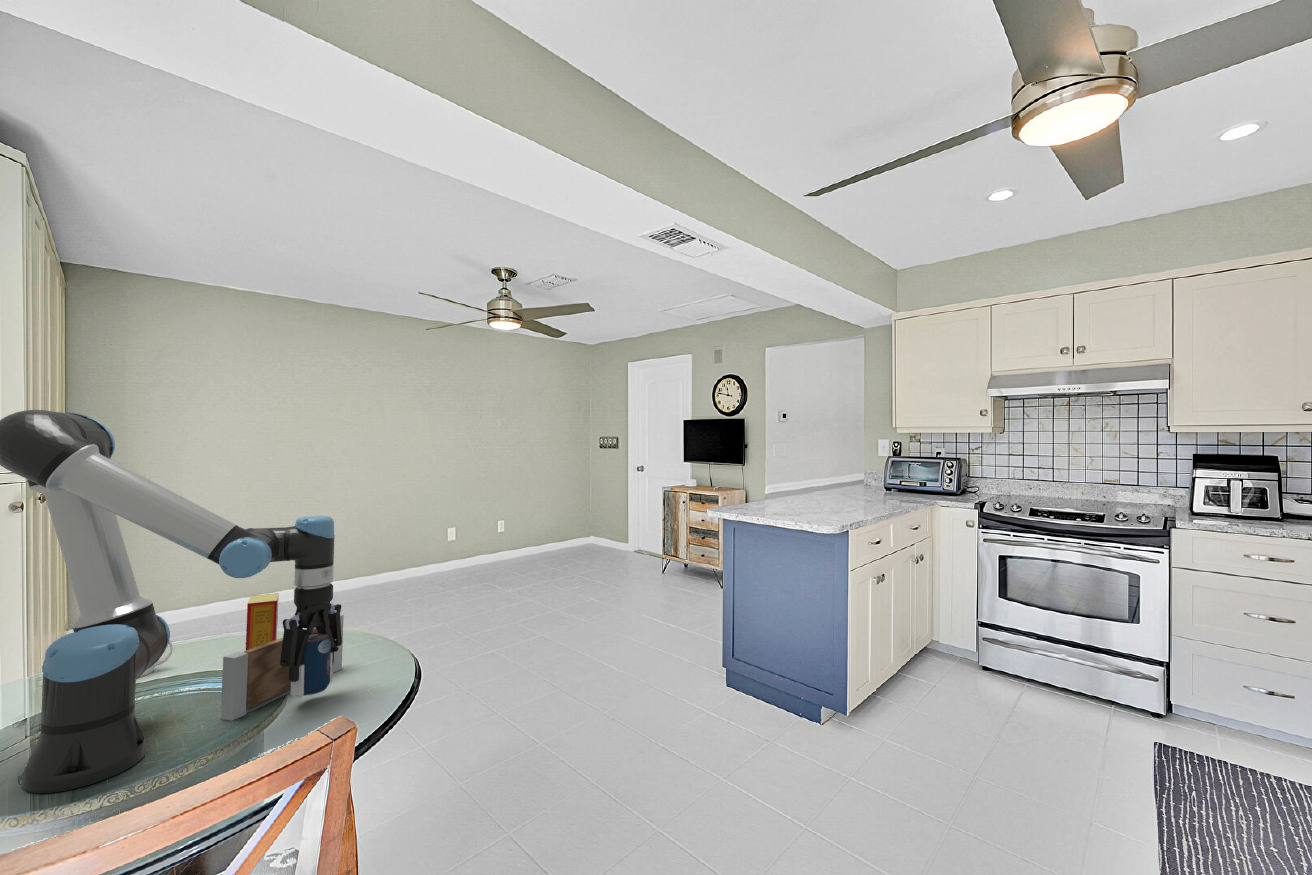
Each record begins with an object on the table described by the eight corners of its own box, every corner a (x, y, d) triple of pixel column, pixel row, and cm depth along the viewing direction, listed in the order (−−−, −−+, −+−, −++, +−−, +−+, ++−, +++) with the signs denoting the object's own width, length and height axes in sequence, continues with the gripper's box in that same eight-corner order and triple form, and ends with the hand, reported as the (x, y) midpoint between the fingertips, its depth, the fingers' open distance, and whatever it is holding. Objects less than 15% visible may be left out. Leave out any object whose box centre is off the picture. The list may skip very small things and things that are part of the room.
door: (247, 708, 119) (250, 652, 119) (236, 706, 120) (239, 650, 120) (328, 670, 140) (330, 623, 140) (318, 669, 140) (320, 622, 141)
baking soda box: (248, 651, 154) (250, 594, 154) (276, 647, 157) (278, 591, 158) (245, 663, 146) (247, 602, 146) (274, 658, 149) (277, 599, 150)
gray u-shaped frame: (231, 720, 115) (234, 653, 115) (220, 718, 115) (223, 651, 116) (341, 668, 143) (343, 614, 143) (332, 667, 144) (334, 613, 144)
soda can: (336, 687, 125) (337, 634, 125) (304, 699, 119) (305, 643, 119) (319, 681, 128) (320, 629, 129) (287, 692, 122) (288, 638, 123)
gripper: (288, 597, 114) (286, 709, 113) (361, 576, 133) (359, 672, 132) (259, 595, 116) (257, 705, 115) (335, 574, 135) (333, 669, 134)
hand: (311, 687), depth 124 cm, fingers closed on soda can, 7 cm apart
